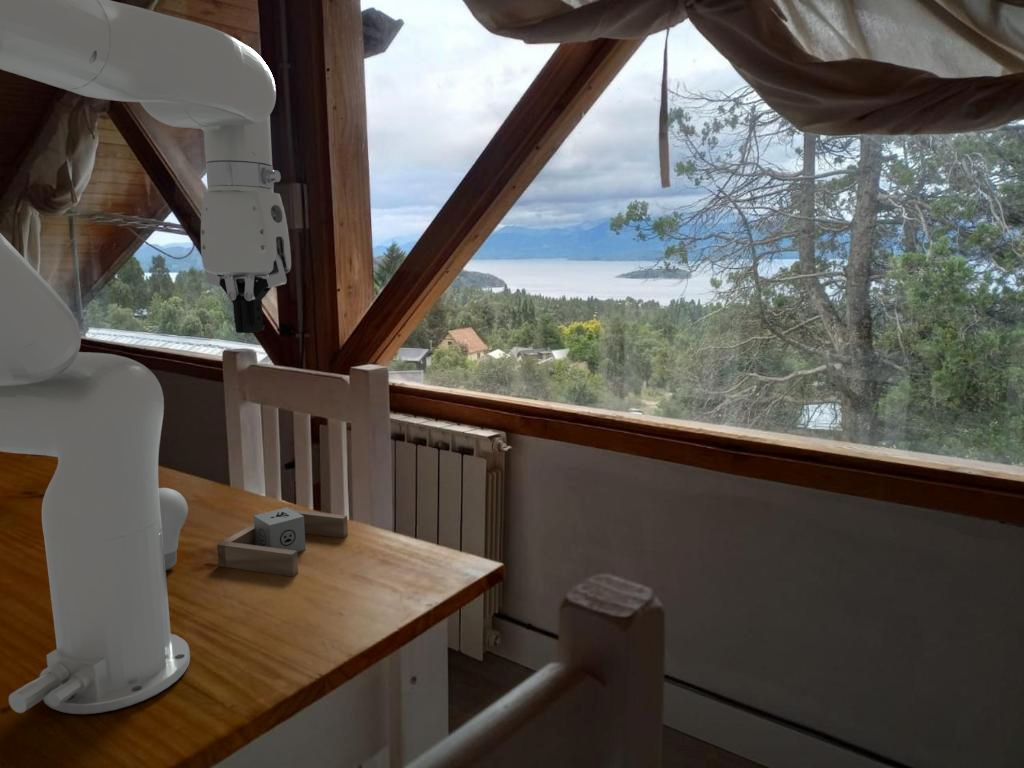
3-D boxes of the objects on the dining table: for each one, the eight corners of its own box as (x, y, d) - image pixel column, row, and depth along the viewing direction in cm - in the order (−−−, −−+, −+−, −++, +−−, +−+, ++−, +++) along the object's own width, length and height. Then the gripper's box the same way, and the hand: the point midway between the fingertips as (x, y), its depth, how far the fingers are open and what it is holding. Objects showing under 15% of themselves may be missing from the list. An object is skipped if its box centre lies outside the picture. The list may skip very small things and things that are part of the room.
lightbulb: (182, 555, 96) (176, 478, 94) (199, 569, 92) (193, 489, 90) (133, 569, 92) (126, 488, 90) (149, 584, 87) (142, 500, 85)
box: (293, 576, 90) (291, 554, 89) (218, 565, 93) (217, 544, 92) (347, 534, 103) (347, 515, 103) (281, 526, 106) (280, 508, 106)
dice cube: (305, 550, 98) (303, 516, 97) (271, 560, 95) (269, 525, 94) (288, 539, 102) (287, 507, 101) (255, 549, 98) (253, 515, 97)
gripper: (311, 183, 86) (317, 331, 90) (209, 185, 90) (218, 327, 94) (276, 176, 79) (284, 337, 83) (166, 179, 83) (178, 333, 86)
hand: (249, 331), depth 88 cm, fingers closed
